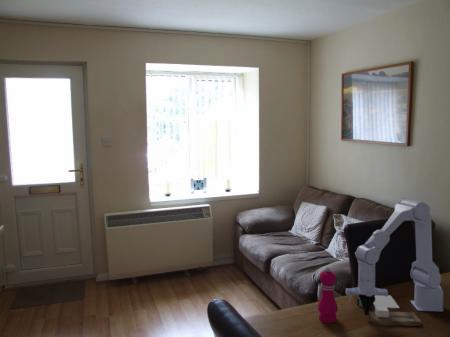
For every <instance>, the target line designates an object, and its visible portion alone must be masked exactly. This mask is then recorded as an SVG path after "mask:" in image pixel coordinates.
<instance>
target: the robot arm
mask: <svg viewBox="0 0 450 337" xmlns="http://www.w3.org/2000/svg"><path fill="white" fill-rule="evenodd" d="M430 209H431V208H430V205H428V203H425V202H423V201H417V200H414V199H413V200H412V199H408V198H406V197H404V198H402V197H401V198H400V199H399V200H398V202H397V203H396V204H395V205H394V211H393V213H392V214H391V215H390V217H389V218H388V220H387V221H386V222H385V223H384V225H383V226H382V227H381V229H376V230H375V231H373V232H372V235H370V237H369V238H368V239H367V240H366V241H365V243H364V244H362V245H359V246H357V249H356V251H355V252H354V256H355V258H356V259H357V263H358V274H357V275H358V278H357V279H358V280H357V282H358V285H357V287H351V288H349V287H348V288H347V287H346V288H345V294H346V296H347V297H348V296H358V297H359V298H360V300H361V303H362V306H363V307H362V311H363V314H364V315H365V316H370V315H369V312H370V311H371V308H372V306H374V304H373V303H374V302H375V295H379V296H388V295H389V291H388V289H386V288H378V287H376V263H377V262H378V261H379V259H380V255H381V252H382V251H383V249H384V248H385V247H386V246H387V245H388V244H389V242H390V240H391V238H390V236H391V235H392V233H393V232H395V230H397V228H398V227H400V225H402V223H403V222H406V221H413V222H414V224H415V226H414V228H415V229H414V230H415V256H416V259H415V261H413V262H412V263H411V269H410V273H409V274H410V278H411V279H412V280H413V283H414V298H413V300H410V301H409V302H410V303H411V305H412V306H413V307H414V308H415V309H416V310H417V311H419V312H444V291H443V288H442V286H441V285H440V284H441V282H442V276H441V274H440V268H439V266H437V265H436V264H435V262H434V261H433V240H432V238H433V236H432V216H431V213H430Z"/></svg>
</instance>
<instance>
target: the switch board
mask: <svg viewBox="0 0 450 337" xmlns="http://www.w3.org/2000/svg"><path fill="white" fill-rule="evenodd" d="M368 316H369V317H370V319H371V321H372V323H373V324H374V325H375V326H376V325H378V326H379V325H381V326H407V327H408V326H414V327H421V326H422V321H421V319H420V318H419V317H418V316H417V315H416V314H415V312H412V311H411V312H408V311H407V312H406V311H389V317H377V316H376V314H375V310H373V311H372V310H370V312H369V315H368Z"/></svg>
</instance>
